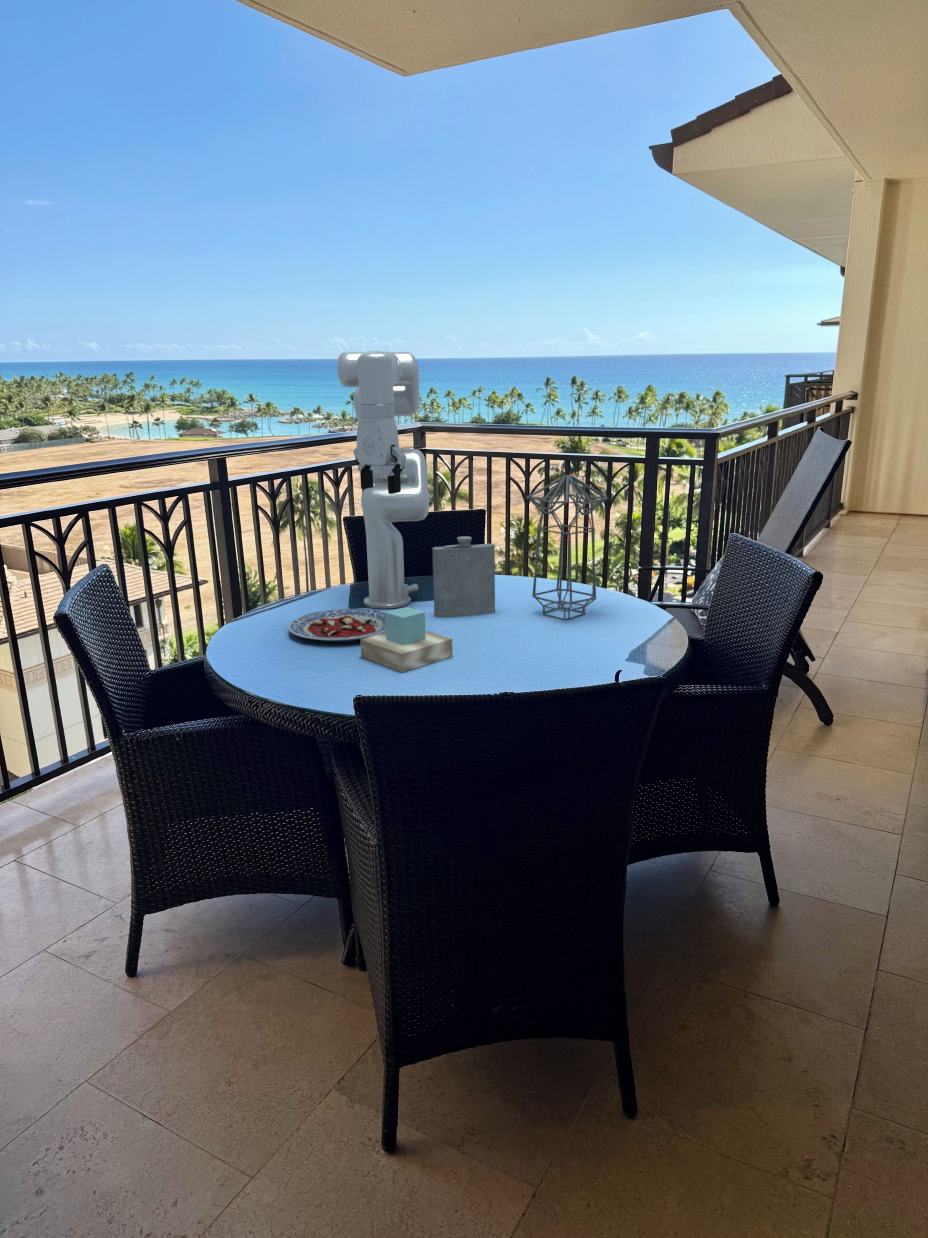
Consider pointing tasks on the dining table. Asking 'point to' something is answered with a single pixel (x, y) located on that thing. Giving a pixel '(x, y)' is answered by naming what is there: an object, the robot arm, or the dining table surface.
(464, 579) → the hip flask
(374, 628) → the ceramic plate
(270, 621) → the dining table surface
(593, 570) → the geometric lantern
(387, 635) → the teal cube
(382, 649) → the birch base
